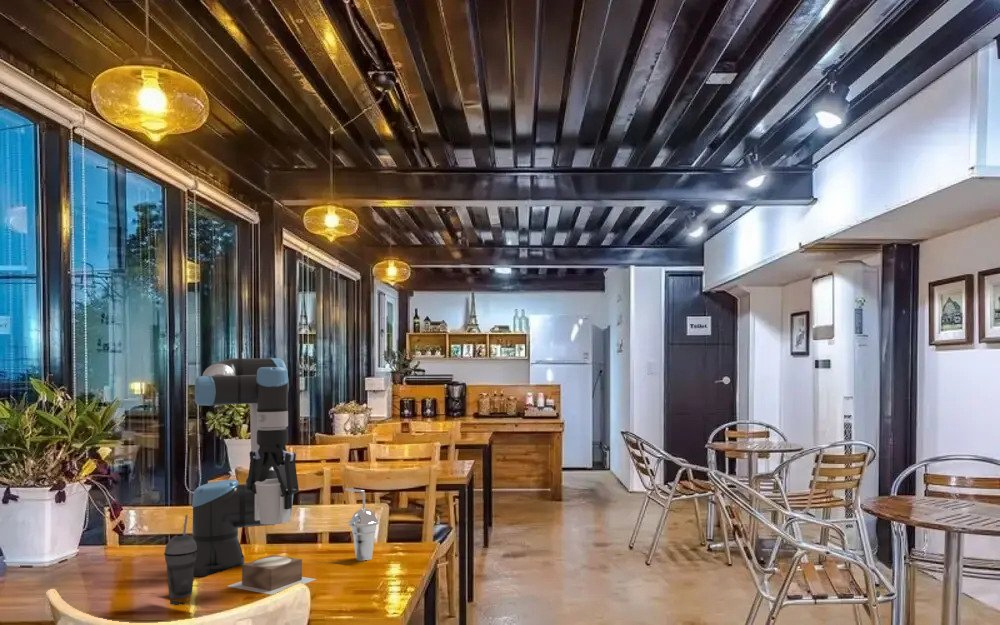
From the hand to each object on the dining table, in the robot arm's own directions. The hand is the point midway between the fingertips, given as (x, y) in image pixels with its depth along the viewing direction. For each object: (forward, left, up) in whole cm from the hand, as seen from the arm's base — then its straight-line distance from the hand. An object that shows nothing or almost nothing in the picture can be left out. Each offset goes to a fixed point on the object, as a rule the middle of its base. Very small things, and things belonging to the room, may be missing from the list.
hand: (272, 520), depth 184 cm
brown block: (0, 0, -15) cm, 15 cm away
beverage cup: (-12, -17, -17) cm, 27 cm away
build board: (0, 0, -17) cm, 17 cm away
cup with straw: (+2, +32, -17) cm, 36 cm away
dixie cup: (0, 0, 0) cm, 0 cm away
